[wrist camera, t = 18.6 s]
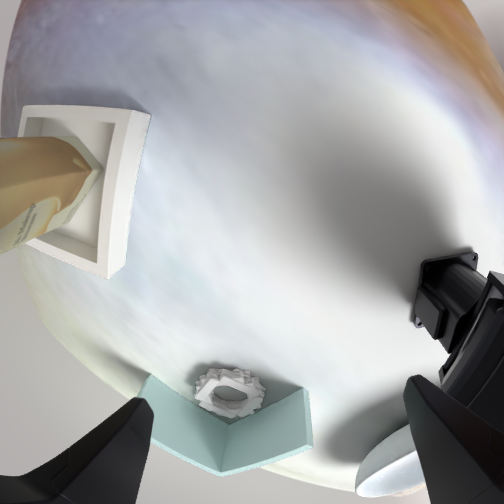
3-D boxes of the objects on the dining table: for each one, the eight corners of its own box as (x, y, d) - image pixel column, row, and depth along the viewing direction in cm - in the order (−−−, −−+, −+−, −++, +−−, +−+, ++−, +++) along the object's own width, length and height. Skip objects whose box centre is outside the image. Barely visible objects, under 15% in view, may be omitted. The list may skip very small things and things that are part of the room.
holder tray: (151, 114, 17) (131, 109, 14) (125, 264, 21) (107, 279, 18) (45, 106, 16) (23, 105, 14) (32, 228, 21) (12, 237, 18)
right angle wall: (308, 387, 25) (313, 447, 18) (229, 426, 29) (220, 476, 22) (219, 317, 23) (199, 380, 16) (148, 373, 26) (123, 424, 19)
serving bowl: (397, 468, 33) (404, 496, 26) (320, 457, 30) (323, 495, 24) (487, 401, 26) (502, 429, 20) (439, 370, 23) (463, 412, 17)
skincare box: (70, 224, 19) (-41, 285, 8) (44, 190, 18) (-66, 232, 7) (108, 165, 17) (-32, 199, 6) (78, 131, 17) (-53, 142, 5)
